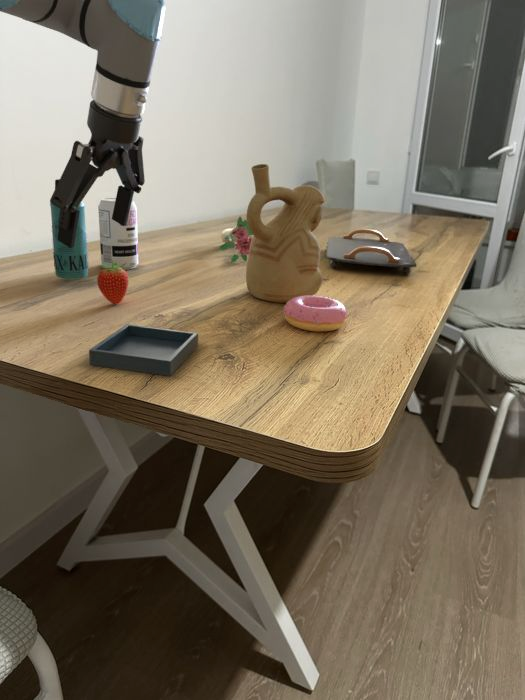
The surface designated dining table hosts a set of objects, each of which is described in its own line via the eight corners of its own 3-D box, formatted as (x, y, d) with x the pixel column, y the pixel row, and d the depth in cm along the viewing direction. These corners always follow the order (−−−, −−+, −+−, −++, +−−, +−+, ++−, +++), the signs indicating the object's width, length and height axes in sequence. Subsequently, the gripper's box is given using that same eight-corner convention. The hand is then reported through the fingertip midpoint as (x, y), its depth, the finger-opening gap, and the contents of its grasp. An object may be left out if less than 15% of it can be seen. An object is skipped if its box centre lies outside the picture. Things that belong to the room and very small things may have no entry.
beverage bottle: (56, 278, 107) (47, 176, 99) (90, 278, 109) (83, 178, 101) (54, 287, 101) (45, 179, 93) (90, 286, 103) (83, 181, 96)
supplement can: (109, 261, 124) (106, 196, 118) (143, 264, 123) (141, 199, 118) (95, 268, 116) (91, 200, 111) (131, 271, 116) (129, 202, 110)
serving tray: (417, 279, 126) (422, 253, 124) (323, 270, 129) (325, 245, 126) (400, 250, 162) (404, 230, 160) (326, 244, 164) (328, 224, 162)
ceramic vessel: (341, 297, 106) (356, 169, 97) (274, 313, 93) (285, 167, 84) (281, 279, 117) (290, 163, 108) (214, 292, 104) (218, 160, 95)
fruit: (113, 309, 90) (111, 264, 87) (93, 303, 92) (90, 259, 89) (135, 303, 94) (134, 259, 91) (115, 297, 97) (113, 255, 94)
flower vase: (239, 271, 155) (267, 272, 122) (201, 258, 152) (218, 256, 118) (251, 233, 154) (282, 224, 121) (212, 219, 151) (233, 205, 117)
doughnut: (359, 328, 88) (362, 305, 87) (310, 338, 82) (312, 313, 81) (317, 311, 96) (319, 289, 95) (269, 319, 90) (271, 295, 89)
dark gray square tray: (89, 364, 68) (88, 350, 67) (127, 336, 78) (126, 323, 77) (170, 376, 66) (170, 361, 65) (198, 346, 76) (198, 332, 75)
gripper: (78, 128, 65) (58, 266, 78) (183, 112, 85) (153, 224, 97) (32, 101, 66) (19, 241, 79) (146, 91, 86) (121, 205, 98)
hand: (93, 232), depth 88 cm, fingers open, 13 cm apart
